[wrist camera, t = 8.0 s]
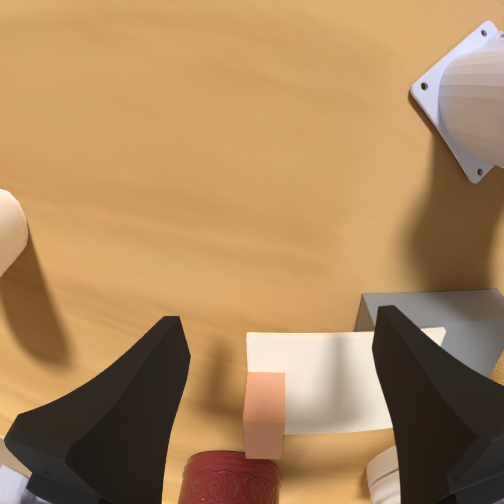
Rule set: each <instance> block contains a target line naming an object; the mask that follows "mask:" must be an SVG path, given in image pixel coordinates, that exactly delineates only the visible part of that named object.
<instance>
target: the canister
mask: <svg viewBox="0 0 504 504" xmlns="http://www.w3.org/2000/svg"><path fill="white" fill-rule="evenodd" d="M280 482H281V478H280V475H279V470H278V468H277V467H276V466H275V465H274V464H273V463H271V462H270V461H268V460H266V459H248V458H246V456H245V453H239V452H230V451H211V452H203V453H199V454H196V455H194V456H192V457H191V458H189V460H188V462H187V464H186V466H185V467H184V472H183V482H182V486H181V491H180V496H179V500H178V504H279V489H280V487H281V483H280Z"/></svg>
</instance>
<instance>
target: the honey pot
mask: <svg viewBox="0 0 504 504" xmlns="http://www.w3.org/2000/svg"><path fill="white" fill-rule="evenodd" d="M366 473H367V480H368V487H369V490H370V491H369V493H370V499H371V501H372V503H373V504H401V500H400V479H399V467H398V458H397V450H396V445H395V446H393V447H391V448H389V449H387V450H385V451H383V452H382V453H380V454H378V455H377V456H376V457H374V458H373V459H372V460H371V461H370V462H369V463H368V465H367V467H366Z"/></svg>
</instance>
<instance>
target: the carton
mask: <svg viewBox="0 0 504 504" xmlns="http://www.w3.org/2000/svg"><path fill="white" fill-rule="evenodd" d="M387 305H395V306H396V307H397V308H398V309H399V310H400V311H401V312H402V313H403V314H405V315H406V316H407V317H408V318H409V319H410V320H411V321H412V322H413V323H414V324H415V325H416V326H417V327H419V328H420V329H425V328H437V327H444V329H445V330H446V333H445V336H444V338H443V341H442V343H441V346H440V347H442V348H443V349H444V350H446V351H447V352H448V353H449V354H451V355H452V356H453V357H455V358H456V359H458V360H459V361H461V362H462V363H464V364H465V365H467V366H468V367H469V368H471V369H473V370H474V371H476V372H478V373H480V374H481V375H483V376H485V377H487V378H488V377H489V375H490V373H491V371H492V370H493V368H494V366H495V364H496V363H497V361H498V359H499V357H500V355H501V353H502V351H503V349H504V297H503V295H502V294H501V293H500V292H499V291H498V290H497V289H484V290H465V291H442V292H413V293H366V294H362V298H361V304H360V309H359V314H358V319H357V324H356V329H355V332H374V331H375V324H376V318H377V311H378V306H387Z"/></svg>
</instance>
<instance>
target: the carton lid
mask: <svg viewBox="0 0 504 504" xmlns="http://www.w3.org/2000/svg"><path fill="white" fill-rule="evenodd" d="M421 330H422V331H423V332H424V333H425V334H426V335H427V336H429V337H430V338H431V339H432V340H433V341H434V342H436V343H437V344H438V345H439V346H441V343H442V341H443V338H444V336H445V333H446V330H445V329H444V327H437V328H425V329H421ZM373 337H374V332H345V333H255V332H247V361H248V376H247V385H246V395H245V404H244V413H243V432H244V444H245V456H246V458H248V459H281V457H282V448H283V439H284V435H296V434H328V433H345V432H357V431H368V430H377V429H386V428H393V426H392V422H391V418H390V415H389V411H388V408H387V405H386V402H385V398H384V395H383V392H382V389H381V386H380V383H379V380H378V376H377V373H376V369H375V364H374V359H373V354H372V342H373Z"/></svg>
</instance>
